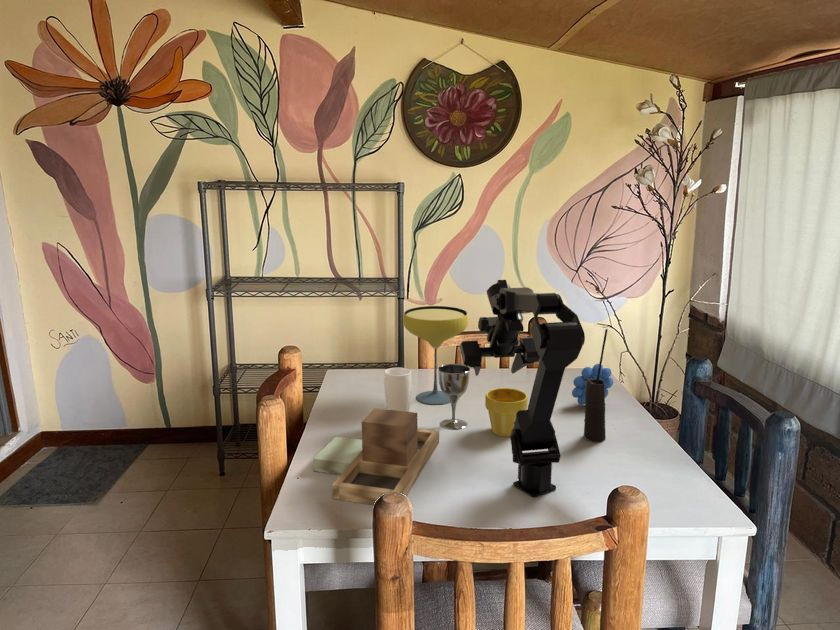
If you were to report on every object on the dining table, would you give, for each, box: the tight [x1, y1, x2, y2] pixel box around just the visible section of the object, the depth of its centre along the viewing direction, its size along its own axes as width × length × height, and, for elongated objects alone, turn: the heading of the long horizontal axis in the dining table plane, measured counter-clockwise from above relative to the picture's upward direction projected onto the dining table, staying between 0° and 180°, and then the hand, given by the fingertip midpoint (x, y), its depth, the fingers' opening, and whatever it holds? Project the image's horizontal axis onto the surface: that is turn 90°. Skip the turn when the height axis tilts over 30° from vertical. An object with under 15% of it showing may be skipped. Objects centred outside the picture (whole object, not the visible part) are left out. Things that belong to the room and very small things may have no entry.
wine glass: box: [437, 363, 471, 431], centre depth 164 cm, size 8×8×15 cm
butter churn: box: [583, 328, 608, 443], centre depth 155 cm, size 9×10×28 cm
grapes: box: [571, 363, 614, 406], centre depth 178 cm, size 12×7×12 cm, turn 97°
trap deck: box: [313, 428, 440, 506], centre depth 143 cm, size 23×32×3 cm
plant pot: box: [484, 387, 529, 438], centre depth 160 cm, size 10×10×10 cm
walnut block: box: [361, 407, 418, 466], centre depth 140 cm, size 10×8×9 cm
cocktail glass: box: [402, 305, 469, 406], centre depth 181 cm, size 18×18×25 cm
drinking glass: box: [383, 367, 412, 412], centre depth 162 cm, size 7×7×15 cm
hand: (494, 373), depth 159 cm, fingers open, 9 cm apart
